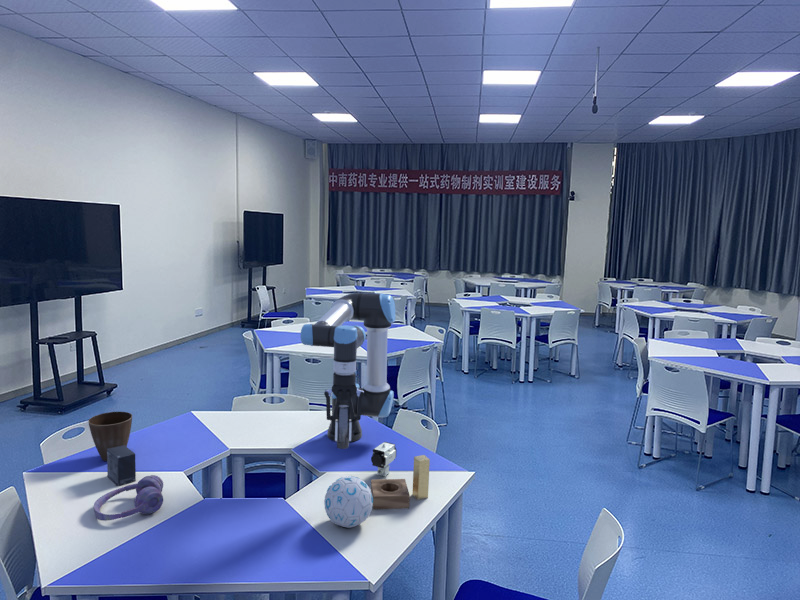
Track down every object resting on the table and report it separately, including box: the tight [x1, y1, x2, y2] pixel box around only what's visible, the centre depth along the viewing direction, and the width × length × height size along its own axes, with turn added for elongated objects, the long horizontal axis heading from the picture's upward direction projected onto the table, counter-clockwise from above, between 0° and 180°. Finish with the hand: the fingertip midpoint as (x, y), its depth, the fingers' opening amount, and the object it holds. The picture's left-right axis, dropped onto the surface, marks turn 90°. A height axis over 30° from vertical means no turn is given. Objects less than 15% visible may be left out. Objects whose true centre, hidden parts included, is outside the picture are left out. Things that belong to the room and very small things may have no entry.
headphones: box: [93, 474, 164, 522], centre depth 175 cm, size 18×8×20 cm
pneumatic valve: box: [370, 441, 397, 477], centre depth 205 cm, size 6×12×12 cm, turn 152°
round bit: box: [336, 405, 350, 450], centre depth 185 cm, size 4×4×14 cm
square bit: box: [412, 454, 431, 501], centre depth 190 cm, size 4×4×14 cm
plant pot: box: [88, 411, 133, 462], centre depth 211 cm, size 15×15×16 cm
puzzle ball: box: [324, 475, 373, 529], centre depth 171 cm, size 15×15×15 cm
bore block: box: [370, 478, 410, 510], centre depth 187 cm, size 12×12×4 cm
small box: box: [106, 445, 137, 487], centre depth 195 cm, size 11×6×10 cm, turn 47°
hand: (343, 439), depth 186 cm, fingers closed on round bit, 4 cm apart
